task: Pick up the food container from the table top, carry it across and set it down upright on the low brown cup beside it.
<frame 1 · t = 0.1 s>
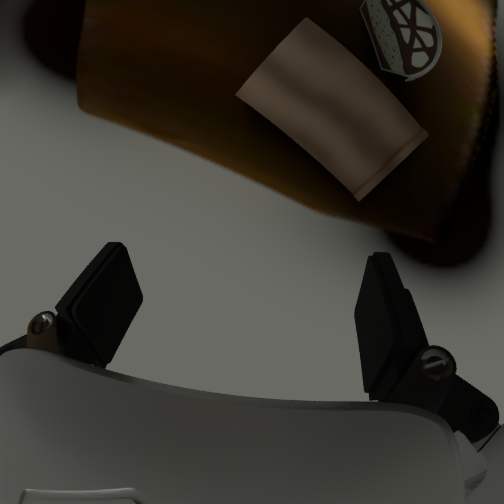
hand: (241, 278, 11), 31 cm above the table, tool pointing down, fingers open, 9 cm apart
food container: (390, 36, 26), on the table
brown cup: (331, 105, 33), on the table
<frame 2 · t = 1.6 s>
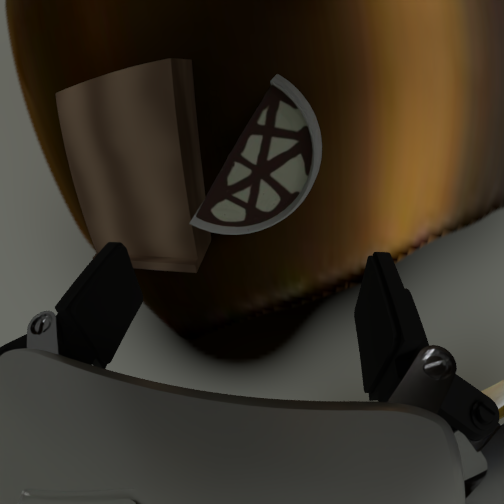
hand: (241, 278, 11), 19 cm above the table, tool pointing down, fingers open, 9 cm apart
food container: (276, 144, 26), on the table
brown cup: (144, 160, 28), on the table
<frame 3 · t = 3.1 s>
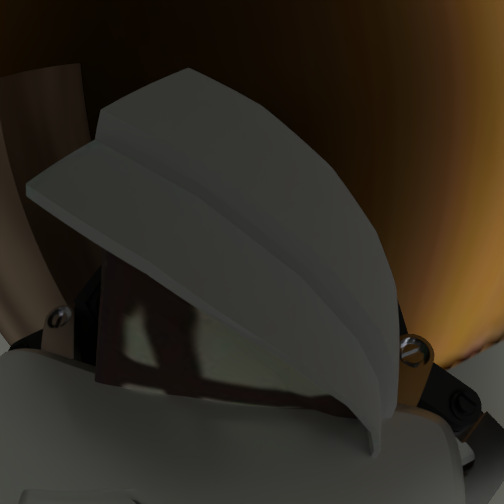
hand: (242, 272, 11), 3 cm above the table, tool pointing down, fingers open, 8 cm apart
food container: (262, 231, 13), on the table, touching gripper
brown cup: (46, 243, 15), on the table
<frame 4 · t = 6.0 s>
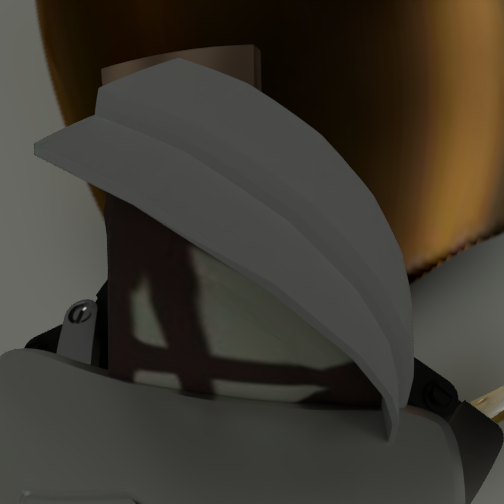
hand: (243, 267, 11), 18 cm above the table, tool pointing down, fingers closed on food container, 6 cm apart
food container: (275, 227, 13), point 15 cm above the table, touching gripper
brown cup: (196, 153, 27), on the table
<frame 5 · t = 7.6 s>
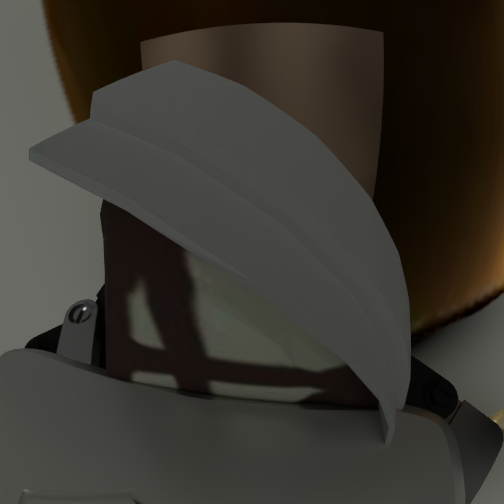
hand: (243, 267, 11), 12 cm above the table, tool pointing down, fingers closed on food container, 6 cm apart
food container: (274, 228, 13), point 9 cm above the table, touching gripper
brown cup: (269, 169, 20), on the table
when the fingers open (8 cm above the table, at t = 8.7 s): food container stays where it is, resting on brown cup.
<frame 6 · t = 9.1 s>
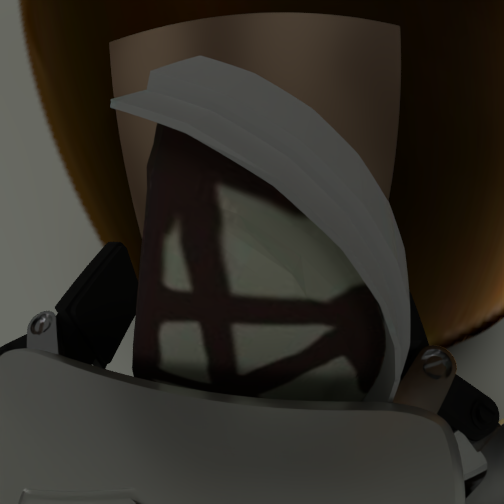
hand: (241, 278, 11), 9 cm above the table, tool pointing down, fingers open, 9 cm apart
food container: (284, 217, 14), point 5 cm above the table, touching gripper, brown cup
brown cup: (263, 186, 18), on the table
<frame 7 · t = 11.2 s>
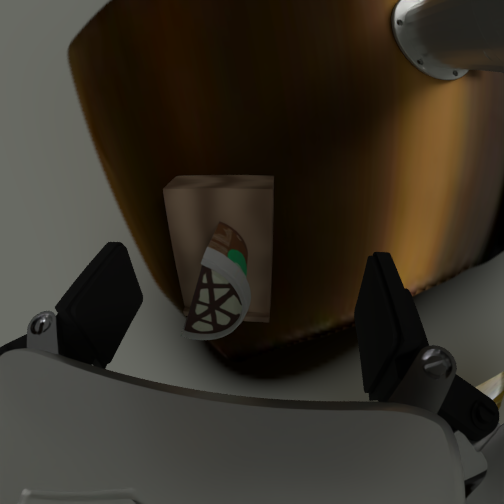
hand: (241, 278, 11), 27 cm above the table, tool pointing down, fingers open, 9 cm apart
food container: (232, 258, 37), point 5 cm above the table, touching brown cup
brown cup: (227, 241, 41), on the table
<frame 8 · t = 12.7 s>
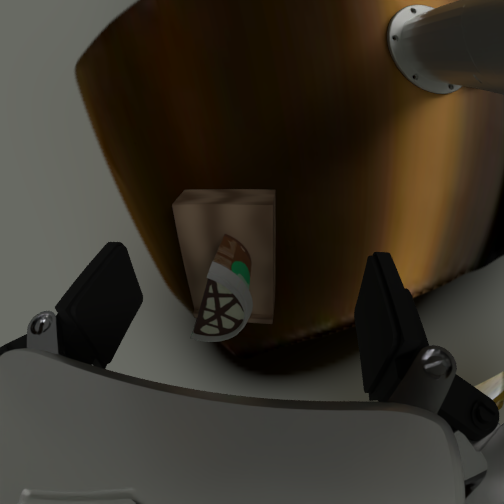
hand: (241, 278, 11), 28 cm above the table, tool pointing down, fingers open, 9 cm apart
food container: (237, 266, 40), point 5 cm above the table, touching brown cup
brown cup: (233, 249, 45), on the table
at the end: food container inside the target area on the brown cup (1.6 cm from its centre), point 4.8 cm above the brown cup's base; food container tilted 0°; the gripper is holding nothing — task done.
